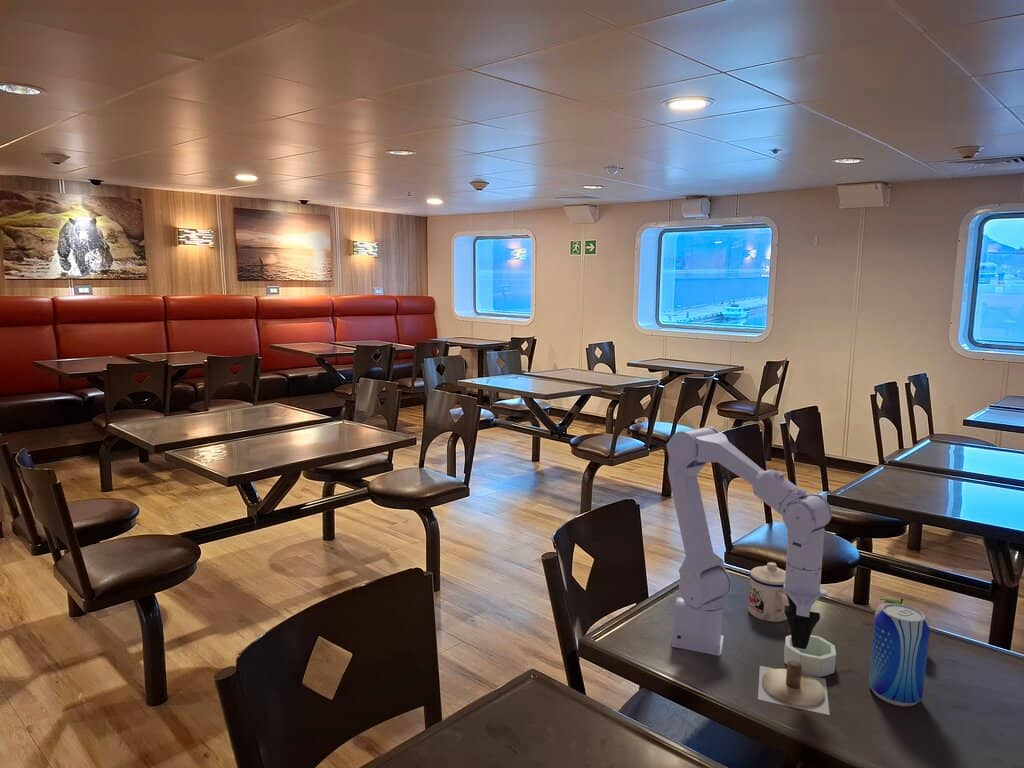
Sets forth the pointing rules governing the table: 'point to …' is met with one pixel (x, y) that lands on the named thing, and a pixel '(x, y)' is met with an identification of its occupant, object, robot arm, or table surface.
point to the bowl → (812, 656)
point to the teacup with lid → (767, 593)
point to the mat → (764, 696)
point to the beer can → (899, 655)
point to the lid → (793, 686)
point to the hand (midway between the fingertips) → (798, 637)
